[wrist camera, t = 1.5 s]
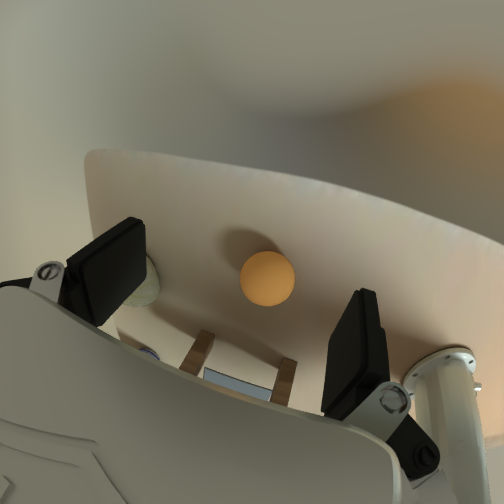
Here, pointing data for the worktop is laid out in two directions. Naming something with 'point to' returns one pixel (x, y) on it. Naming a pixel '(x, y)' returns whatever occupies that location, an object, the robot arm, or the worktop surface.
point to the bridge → (203, 348)
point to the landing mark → (237, 384)
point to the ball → (267, 278)
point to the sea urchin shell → (145, 288)
